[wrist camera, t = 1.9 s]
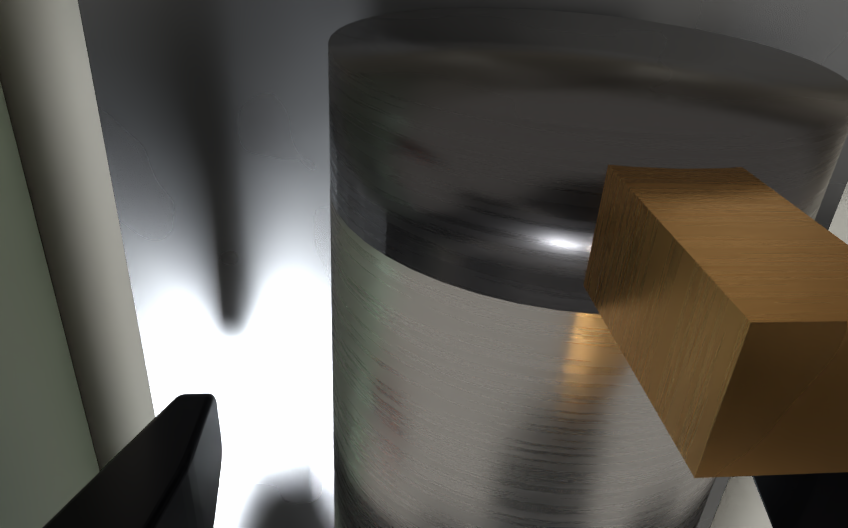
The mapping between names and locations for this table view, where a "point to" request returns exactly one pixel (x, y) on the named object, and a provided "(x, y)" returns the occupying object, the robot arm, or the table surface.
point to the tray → (33, 367)
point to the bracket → (288, 206)
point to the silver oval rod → (577, 269)
